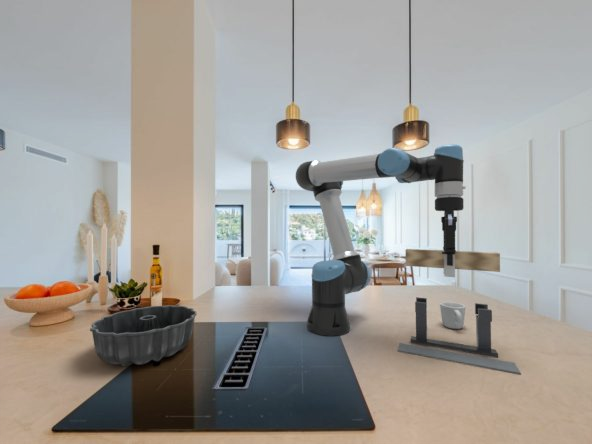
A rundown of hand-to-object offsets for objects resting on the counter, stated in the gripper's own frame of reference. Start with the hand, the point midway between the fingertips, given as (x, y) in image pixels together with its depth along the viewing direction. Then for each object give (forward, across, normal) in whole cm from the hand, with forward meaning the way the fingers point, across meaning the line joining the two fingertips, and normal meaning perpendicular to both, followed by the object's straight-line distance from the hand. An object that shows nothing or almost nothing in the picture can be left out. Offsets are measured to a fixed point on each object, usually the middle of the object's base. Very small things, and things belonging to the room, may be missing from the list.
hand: (449, 275), depth 81 cm
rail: (-2, 0, 0) cm, 2 cm away
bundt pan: (+22, -42, +78) cm, 91 cm away
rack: (+21, 0, 0) cm, 21 cm away
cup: (+22, +19, -2) cm, 29 cm away
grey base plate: (+21, -7, 0) cm, 22 cm away
